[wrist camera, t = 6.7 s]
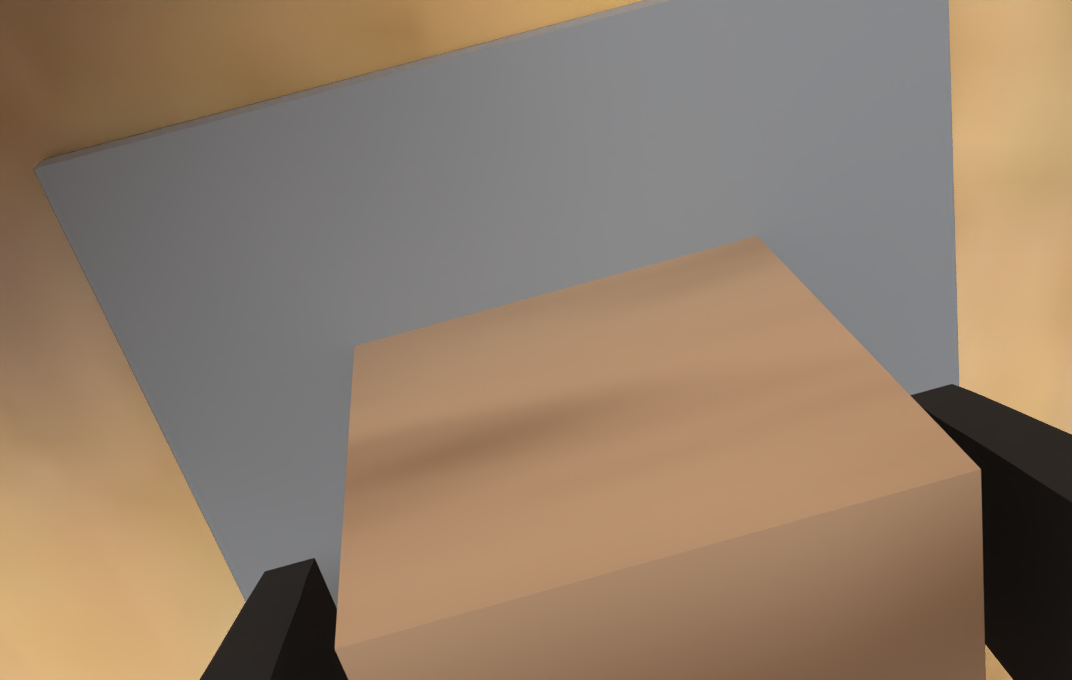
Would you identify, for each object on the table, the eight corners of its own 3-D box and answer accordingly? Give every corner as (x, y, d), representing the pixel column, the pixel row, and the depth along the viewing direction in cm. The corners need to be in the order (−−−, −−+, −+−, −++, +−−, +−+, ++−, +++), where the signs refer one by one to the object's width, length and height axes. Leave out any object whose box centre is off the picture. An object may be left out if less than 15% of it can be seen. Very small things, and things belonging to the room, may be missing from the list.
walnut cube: (799, 550, 15) (990, 873, 11) (464, 644, 15) (499, 1012, 11) (756, 235, 13) (980, 469, 8) (353, 345, 13) (334, 649, 8)
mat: (953, 595, 17) (966, 611, 17) (337, 765, 17) (335, 785, 16) (929, -76, 12) (946, -72, 11) (43, 159, 12) (33, 169, 11)
